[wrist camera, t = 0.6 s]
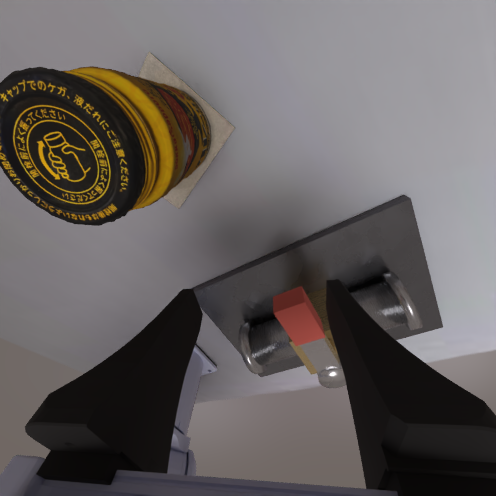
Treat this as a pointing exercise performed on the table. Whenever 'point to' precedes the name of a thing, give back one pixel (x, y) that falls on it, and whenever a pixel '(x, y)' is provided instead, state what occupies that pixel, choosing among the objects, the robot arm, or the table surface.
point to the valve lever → (309, 335)
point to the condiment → (105, 139)
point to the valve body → (314, 284)
